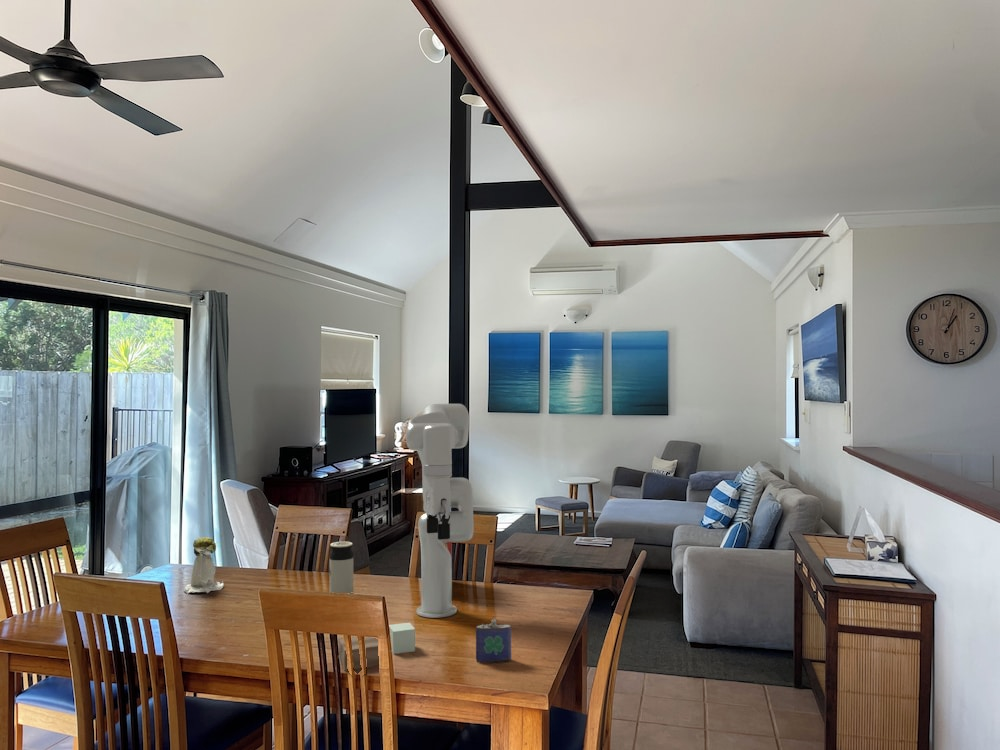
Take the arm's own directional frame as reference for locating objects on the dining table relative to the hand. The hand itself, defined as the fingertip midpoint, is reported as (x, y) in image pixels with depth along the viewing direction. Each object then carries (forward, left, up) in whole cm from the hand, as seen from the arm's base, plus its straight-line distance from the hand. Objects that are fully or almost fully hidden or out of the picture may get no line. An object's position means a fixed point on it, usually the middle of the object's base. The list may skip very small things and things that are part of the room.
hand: (438, 535), depth 197 cm
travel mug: (-67, -15, -32) cm, 75 cm away
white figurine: (-95, -59, -32) cm, 116 cm away
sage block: (-9, -8, -32) cm, 34 cm away
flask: (+9, +12, -32) cm, 35 cm away
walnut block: (-4, -20, -32) cm, 37 cm away
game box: (-62, +20, -32) cm, 72 cm away
